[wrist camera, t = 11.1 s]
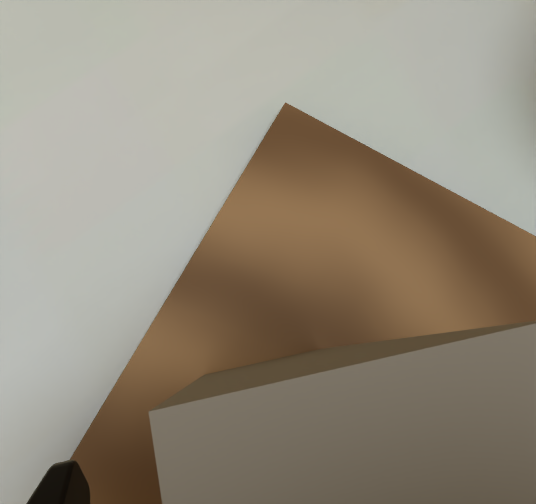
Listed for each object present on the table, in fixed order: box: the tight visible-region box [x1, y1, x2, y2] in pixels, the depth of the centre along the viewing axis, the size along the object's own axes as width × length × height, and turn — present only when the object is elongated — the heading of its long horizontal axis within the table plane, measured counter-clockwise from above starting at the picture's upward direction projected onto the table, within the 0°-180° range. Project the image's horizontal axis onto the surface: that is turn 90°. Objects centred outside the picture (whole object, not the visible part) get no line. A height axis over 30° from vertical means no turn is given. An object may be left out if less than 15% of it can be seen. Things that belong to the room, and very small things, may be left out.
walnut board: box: [70, 103, 536, 504], centre depth 18 cm, size 18×16×1 cm
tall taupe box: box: [149, 321, 536, 504], centre depth 10 cm, size 4×5×13 cm
